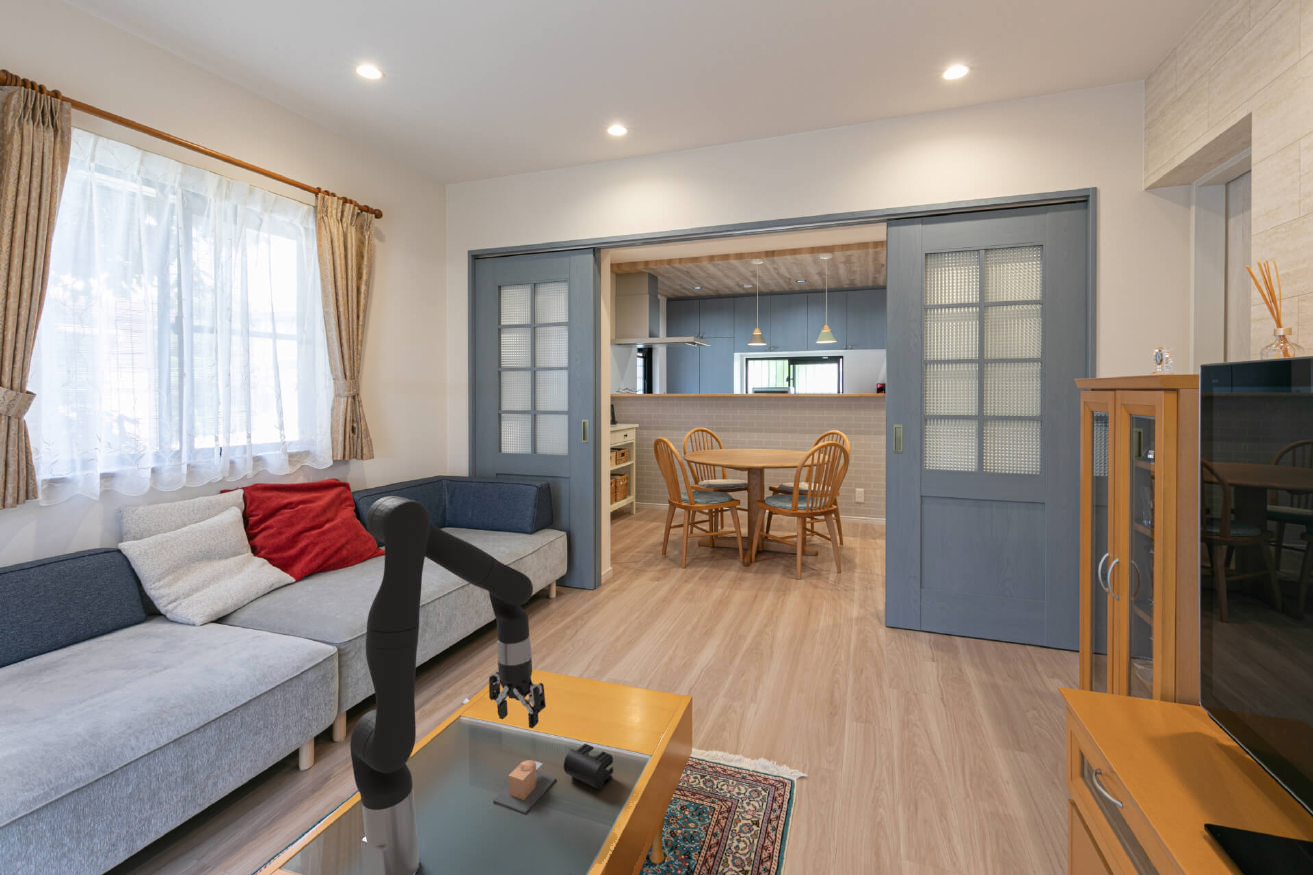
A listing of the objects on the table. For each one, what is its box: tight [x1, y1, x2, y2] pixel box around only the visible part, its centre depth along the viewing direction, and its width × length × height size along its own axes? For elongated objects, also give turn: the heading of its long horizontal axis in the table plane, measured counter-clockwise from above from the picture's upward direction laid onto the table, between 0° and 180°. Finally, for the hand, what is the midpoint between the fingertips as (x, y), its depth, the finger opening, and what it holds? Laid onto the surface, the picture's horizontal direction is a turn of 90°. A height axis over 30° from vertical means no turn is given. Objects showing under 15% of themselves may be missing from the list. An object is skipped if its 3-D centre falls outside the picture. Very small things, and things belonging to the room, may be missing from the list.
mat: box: [492, 771, 557, 815], centre depth 145 cm, size 12×9×1 cm
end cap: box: [563, 743, 614, 791], centre depth 147 cm, size 10×7×7 cm
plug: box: [508, 759, 544, 800], centre depth 146 cm, size 9×4×5 cm, turn 155°
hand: (518, 721), depth 143 cm, fingers open, 8 cm apart
